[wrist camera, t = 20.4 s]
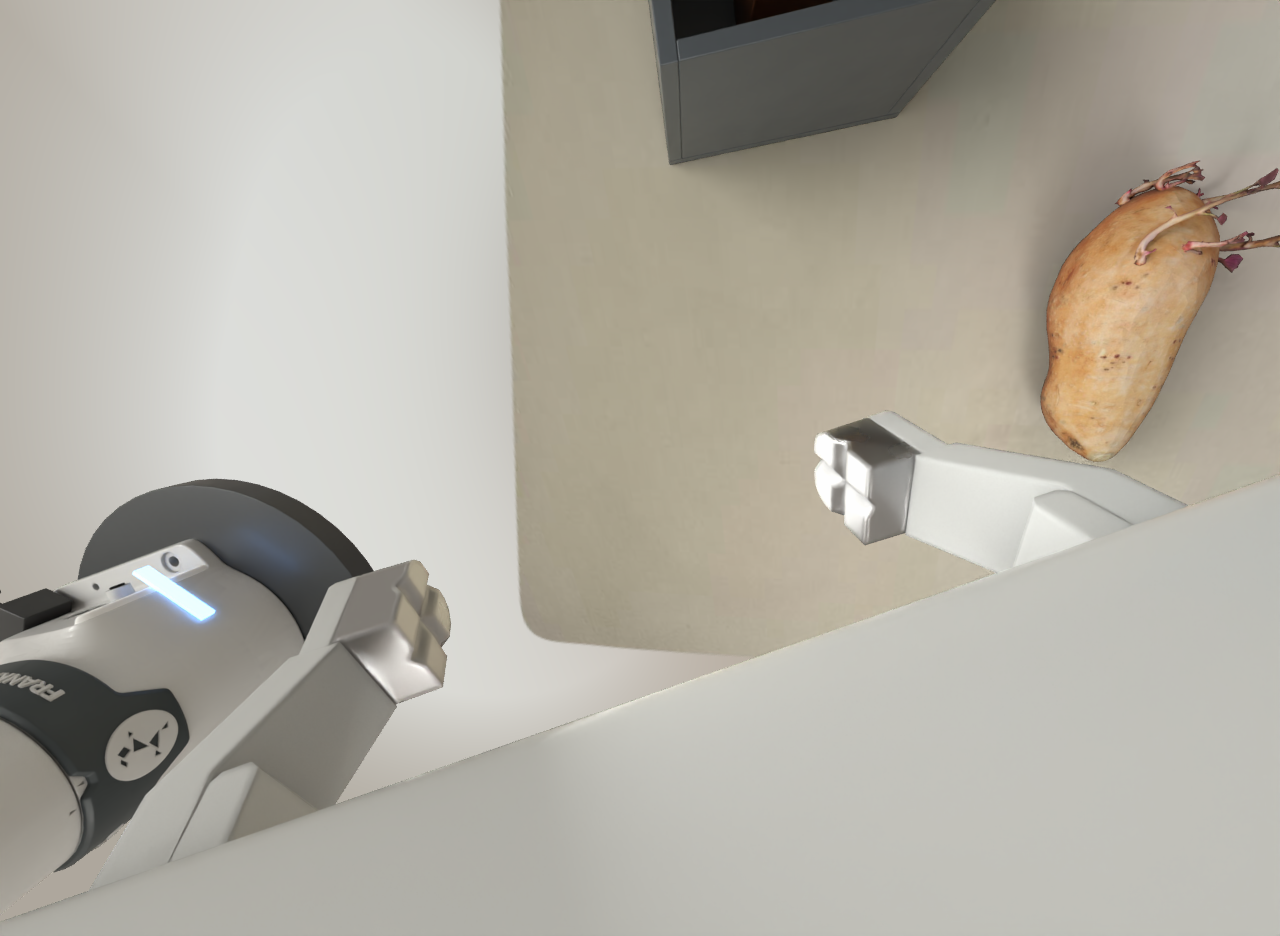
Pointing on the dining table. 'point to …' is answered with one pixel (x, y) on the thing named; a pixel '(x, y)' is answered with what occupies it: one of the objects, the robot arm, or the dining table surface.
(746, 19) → the chocolate box
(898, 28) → the gray open box
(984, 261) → the dining table surface
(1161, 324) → the vegetable
